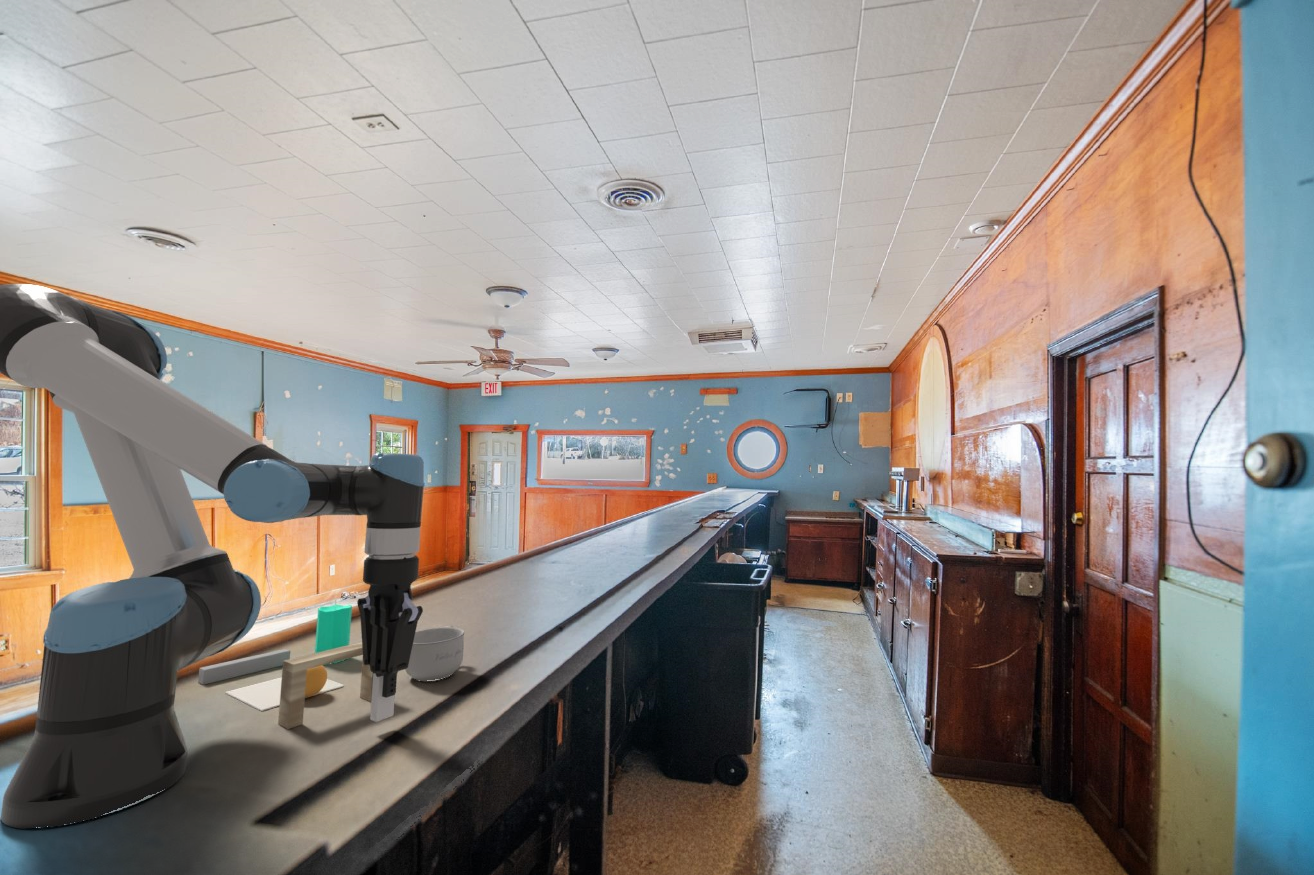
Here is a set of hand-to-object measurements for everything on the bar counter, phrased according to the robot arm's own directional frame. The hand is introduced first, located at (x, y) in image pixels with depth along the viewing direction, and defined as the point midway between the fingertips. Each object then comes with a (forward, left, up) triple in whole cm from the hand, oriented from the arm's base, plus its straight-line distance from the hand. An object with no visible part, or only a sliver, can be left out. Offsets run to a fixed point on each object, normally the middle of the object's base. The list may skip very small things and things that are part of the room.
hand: (381, 717), depth 81 cm
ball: (+1, +22, +1) cm, 22 cm away
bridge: (0, +13, -2) cm, 13 cm away
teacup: (+20, +14, -2) cm, 25 cm away
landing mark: (0, +28, -2) cm, 28 cm away
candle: (+13, +38, -2) cm, 40 cm away
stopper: (0, +43, -2) cm, 43 cm away
